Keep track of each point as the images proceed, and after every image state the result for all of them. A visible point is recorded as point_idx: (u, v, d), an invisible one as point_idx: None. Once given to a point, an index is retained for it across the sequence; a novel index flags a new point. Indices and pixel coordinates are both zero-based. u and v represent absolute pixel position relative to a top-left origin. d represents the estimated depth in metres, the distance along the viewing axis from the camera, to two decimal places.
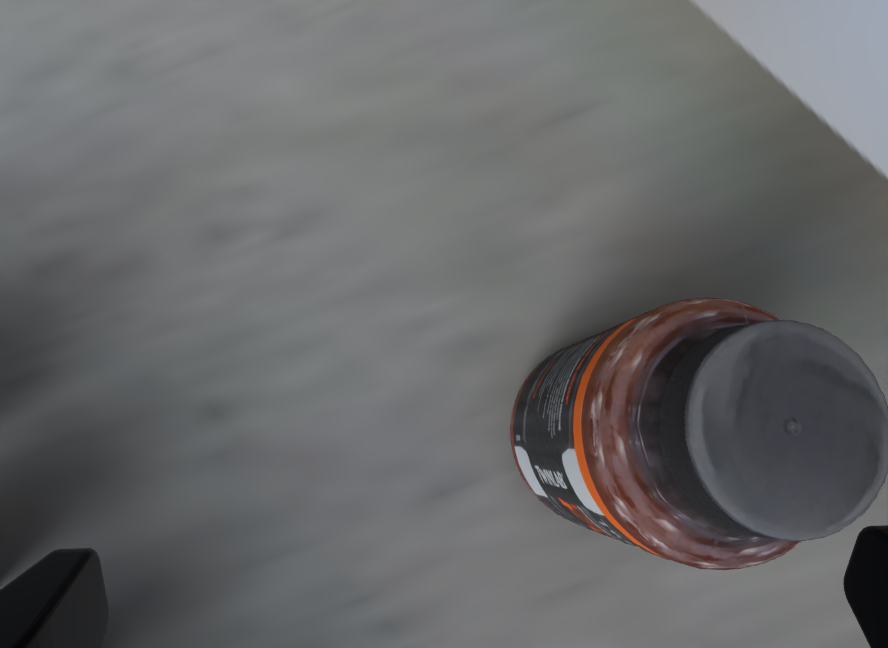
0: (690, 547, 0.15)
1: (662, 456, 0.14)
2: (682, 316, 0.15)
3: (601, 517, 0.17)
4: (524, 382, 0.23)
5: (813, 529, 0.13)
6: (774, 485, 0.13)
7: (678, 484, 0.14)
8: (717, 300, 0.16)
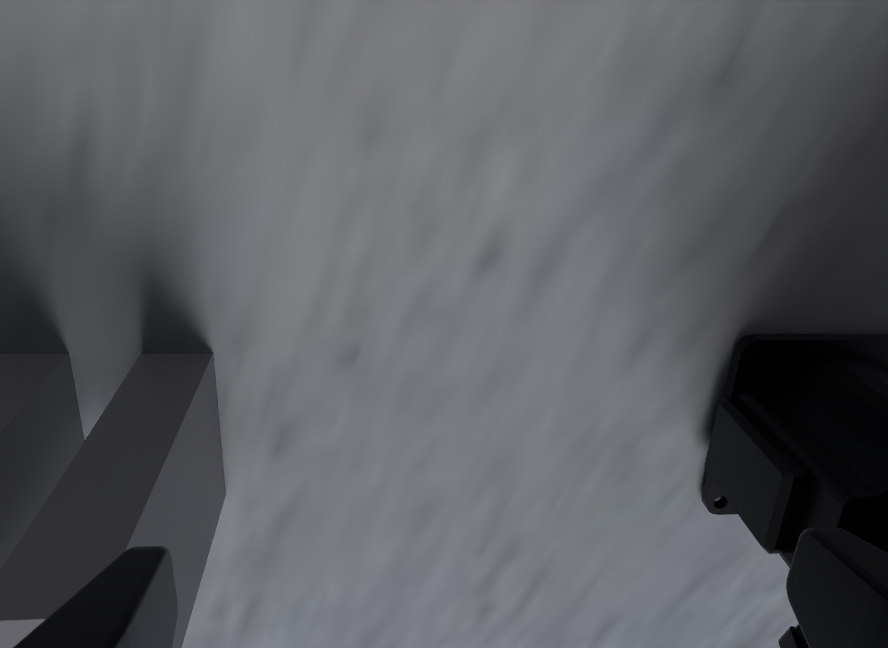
0: None
1: None
2: None
3: None
4: None
5: None
6: None
7: None
8: None
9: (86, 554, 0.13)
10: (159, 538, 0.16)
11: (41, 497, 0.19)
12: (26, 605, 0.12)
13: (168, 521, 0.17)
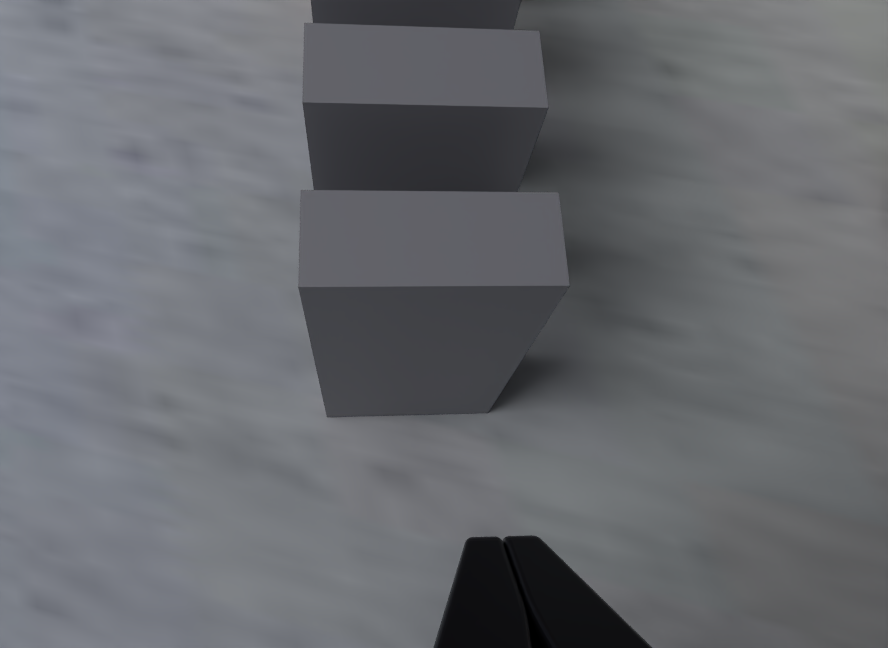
0: None
1: None
2: None
3: None
4: None
5: None
6: None
7: None
8: None
9: None
10: (477, 346, 0.17)
11: None
12: None
13: (465, 357, 0.17)
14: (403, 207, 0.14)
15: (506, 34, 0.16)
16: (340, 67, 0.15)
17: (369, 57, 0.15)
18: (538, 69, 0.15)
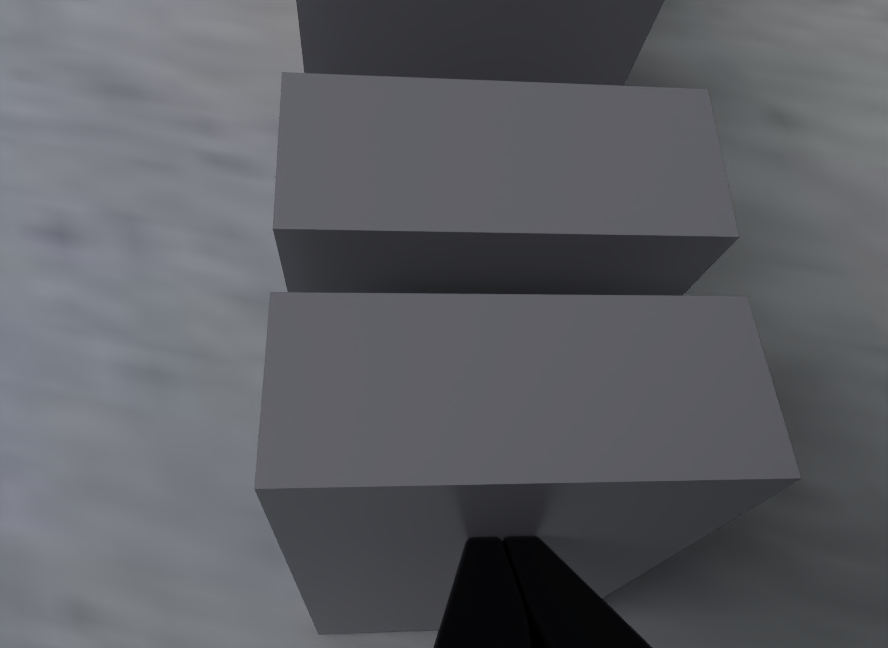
0: None
1: None
2: None
3: None
4: None
5: None
6: None
7: None
8: None
9: None
10: (577, 561, 0.10)
11: None
12: None
13: None
14: (465, 324, 0.07)
15: (650, 94, 0.09)
16: (347, 158, 0.08)
17: (402, 138, 0.08)
18: (713, 161, 0.08)
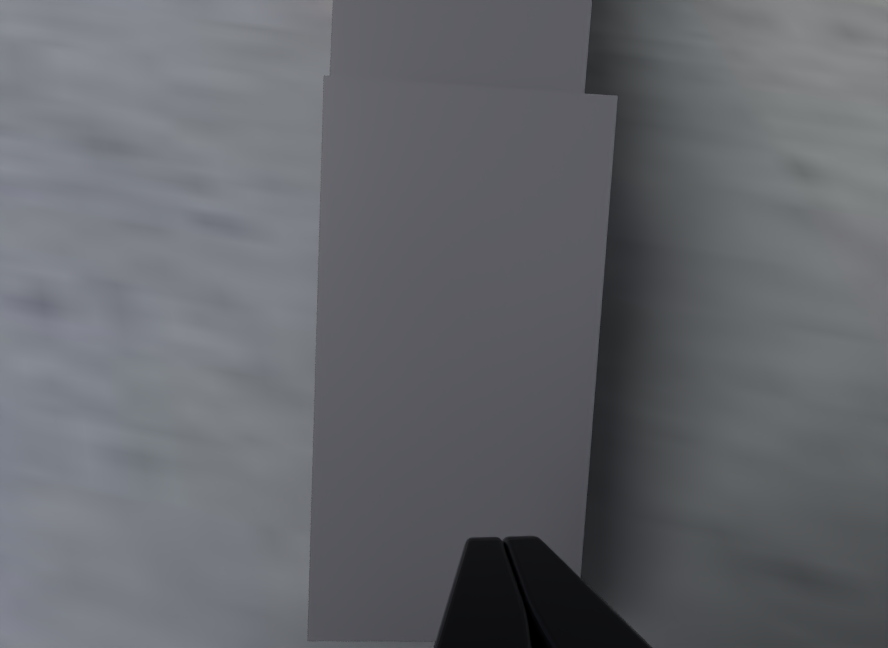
0: None
1: None
2: None
3: None
4: None
5: None
6: None
7: None
8: None
9: None
10: (532, 292, 0.13)
11: None
12: None
13: (519, 336, 0.13)
14: None
15: None
16: None
17: None
18: None
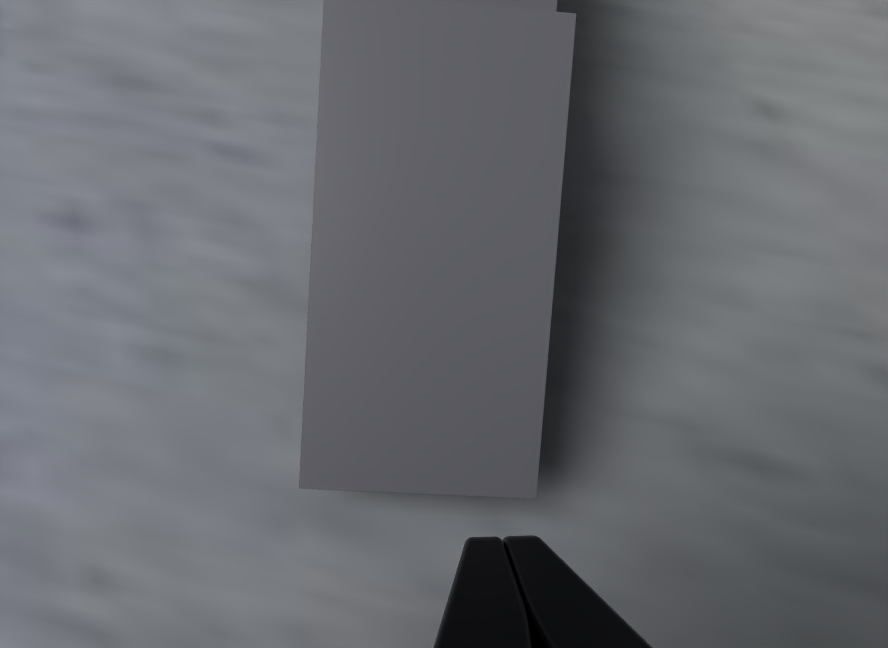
0: None
1: None
2: None
3: None
4: None
5: None
6: None
7: None
8: None
9: None
10: (500, 183, 0.15)
11: None
12: None
13: (489, 222, 0.15)
14: None
15: None
16: None
17: None
18: None
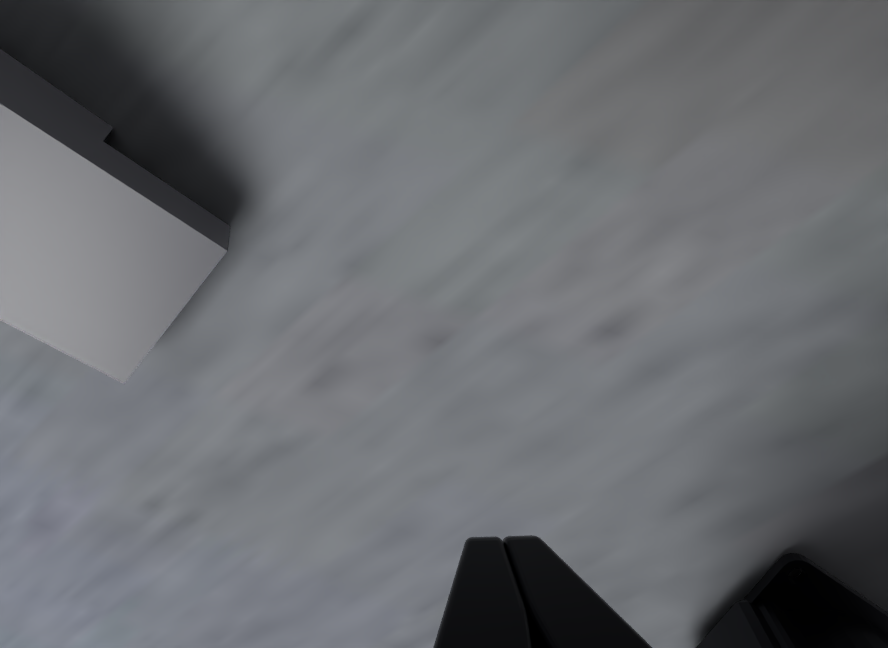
0: None
1: None
2: None
3: None
4: None
5: None
6: None
7: None
8: None
9: None
10: None
11: None
12: None
13: None
14: None
15: None
16: None
17: None
18: None
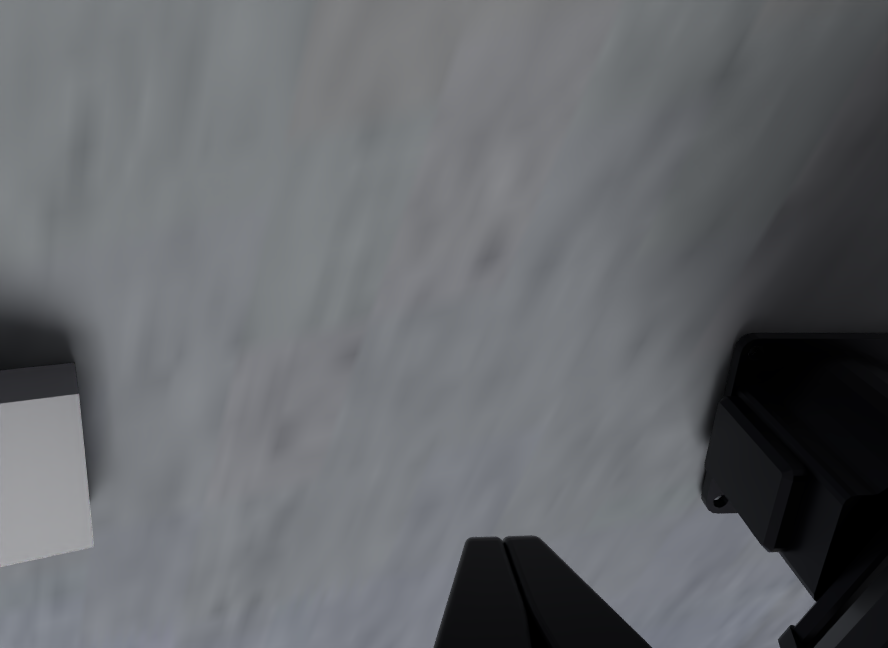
0: None
1: None
2: None
3: None
4: None
5: None
6: None
7: None
8: None
9: None
10: None
11: None
12: None
13: None
14: None
15: None
16: None
17: None
18: None
